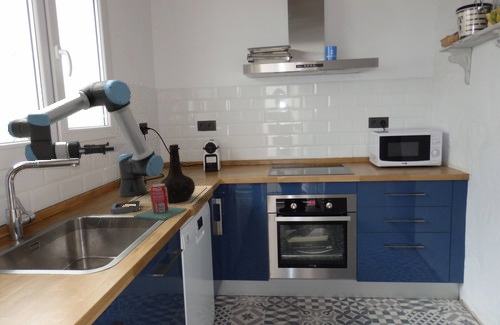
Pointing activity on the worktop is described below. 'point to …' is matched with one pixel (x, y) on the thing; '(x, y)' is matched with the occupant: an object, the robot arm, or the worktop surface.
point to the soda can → (159, 198)
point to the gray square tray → (119, 209)
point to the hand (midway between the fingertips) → (124, 146)
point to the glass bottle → (177, 179)
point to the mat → (160, 214)
